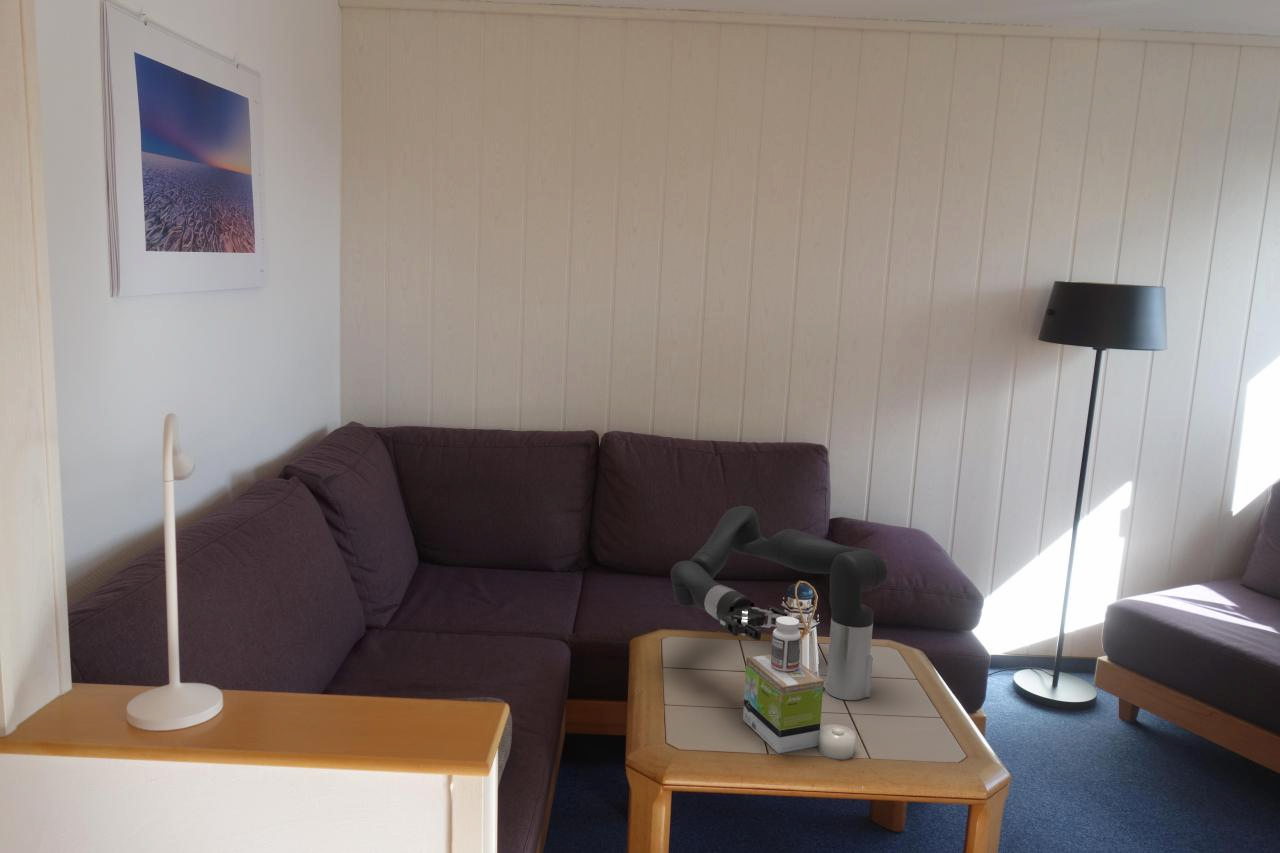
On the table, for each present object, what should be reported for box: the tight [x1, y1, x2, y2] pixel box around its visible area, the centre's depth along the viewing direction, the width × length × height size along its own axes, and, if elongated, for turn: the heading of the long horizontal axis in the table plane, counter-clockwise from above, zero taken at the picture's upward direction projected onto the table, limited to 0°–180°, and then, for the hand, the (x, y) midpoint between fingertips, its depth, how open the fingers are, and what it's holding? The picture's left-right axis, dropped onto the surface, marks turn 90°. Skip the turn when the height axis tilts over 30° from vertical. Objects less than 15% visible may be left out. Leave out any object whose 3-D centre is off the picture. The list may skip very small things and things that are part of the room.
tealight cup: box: [818, 723, 857, 761], centre depth 198 cm, size 7×7×5 cm
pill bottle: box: [770, 616, 802, 671], centre depth 202 cm, size 6×6×10 cm
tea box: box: [742, 653, 825, 754], centre depth 204 cm, size 15×10×15 cm, turn 23°
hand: (775, 632), depth 204 cm, fingers open, 8 cm apart
